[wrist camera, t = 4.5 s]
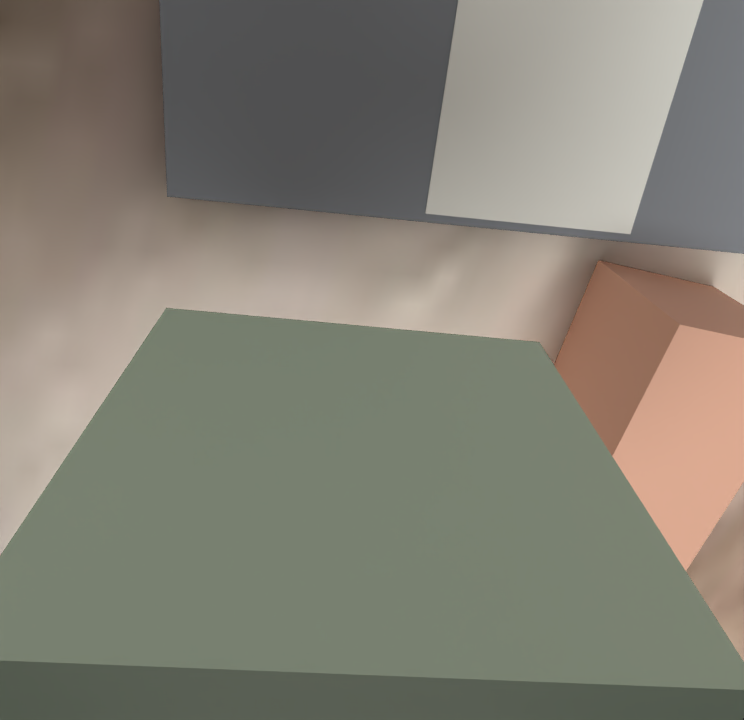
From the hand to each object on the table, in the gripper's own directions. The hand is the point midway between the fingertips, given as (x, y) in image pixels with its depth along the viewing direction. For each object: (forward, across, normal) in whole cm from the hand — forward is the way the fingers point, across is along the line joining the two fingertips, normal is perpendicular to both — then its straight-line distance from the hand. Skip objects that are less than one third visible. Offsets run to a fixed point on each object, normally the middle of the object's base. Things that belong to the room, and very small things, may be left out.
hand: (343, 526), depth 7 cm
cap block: (+12, -9, +5) cm, 16 cm away
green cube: (+1, 0, 0) cm, 1 cm away
